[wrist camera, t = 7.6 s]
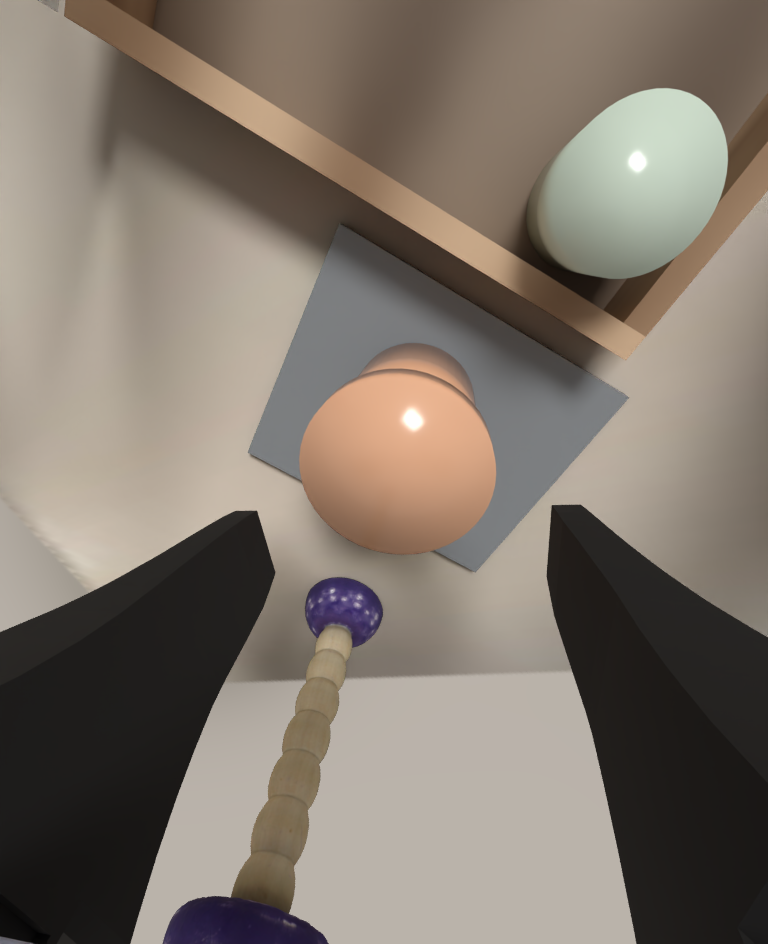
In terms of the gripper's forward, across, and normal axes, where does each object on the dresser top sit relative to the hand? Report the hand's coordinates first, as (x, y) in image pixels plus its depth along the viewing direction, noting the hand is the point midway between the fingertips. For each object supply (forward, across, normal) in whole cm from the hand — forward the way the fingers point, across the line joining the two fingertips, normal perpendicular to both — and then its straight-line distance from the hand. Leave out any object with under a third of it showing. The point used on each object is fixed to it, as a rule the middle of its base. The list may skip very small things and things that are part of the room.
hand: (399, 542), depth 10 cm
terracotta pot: (+8, 0, -1) cm, 8 cm away
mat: (+8, 0, 0) cm, 8 cm away
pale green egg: (+8, -6, -7) cm, 12 cm away
